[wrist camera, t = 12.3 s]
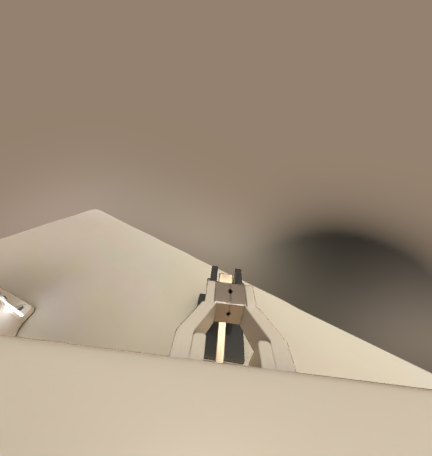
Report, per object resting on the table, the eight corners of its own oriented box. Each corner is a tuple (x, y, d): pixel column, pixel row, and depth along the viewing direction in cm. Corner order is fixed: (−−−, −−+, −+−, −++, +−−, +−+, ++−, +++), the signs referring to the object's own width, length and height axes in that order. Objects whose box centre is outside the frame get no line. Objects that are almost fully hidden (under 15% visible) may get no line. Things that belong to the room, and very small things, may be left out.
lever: (238, 396, 19) (242, 400, 17) (193, 389, 19) (192, 392, 17) (240, 281, 28) (242, 275, 26) (209, 277, 28) (210, 271, 26)
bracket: (243, 364, 28) (263, 319, 20) (187, 356, 28) (186, 309, 20) (240, 301, 38) (253, 256, 30) (199, 296, 38) (201, 249, 30)
